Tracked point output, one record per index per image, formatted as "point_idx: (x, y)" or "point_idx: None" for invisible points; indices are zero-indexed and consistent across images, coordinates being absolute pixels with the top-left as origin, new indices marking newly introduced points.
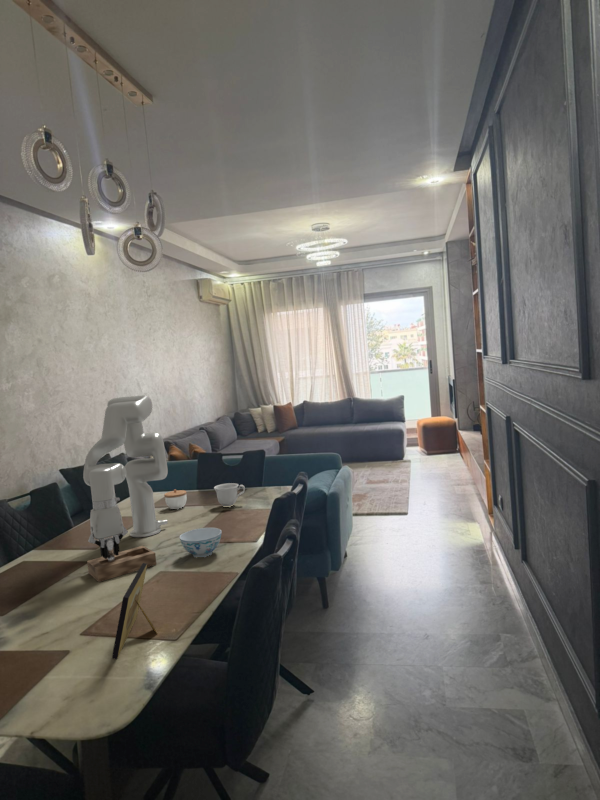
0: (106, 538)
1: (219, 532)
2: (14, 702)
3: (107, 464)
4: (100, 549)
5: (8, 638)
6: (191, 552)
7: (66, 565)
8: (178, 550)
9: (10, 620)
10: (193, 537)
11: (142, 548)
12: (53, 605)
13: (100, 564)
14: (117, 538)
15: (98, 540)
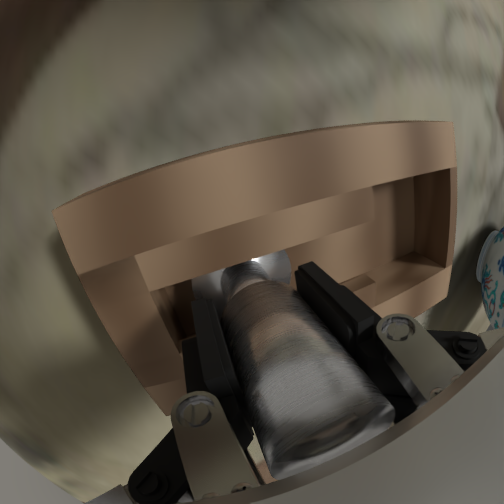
0: (319, 438)
1: None
2: None
3: None
4: (187, 383)
5: (59, 486)
6: (482, 297)
7: (11, 2)
8: (481, 158)
9: (12, 446)
10: None
11: (444, 167)
12: (65, 443)
13: (174, 359)
14: (407, 415)
15: (186, 472)
